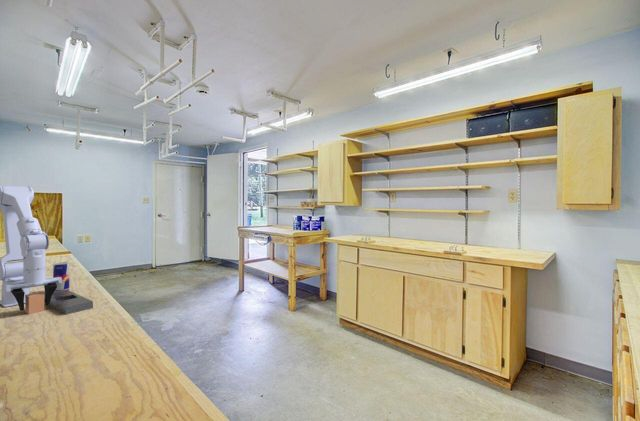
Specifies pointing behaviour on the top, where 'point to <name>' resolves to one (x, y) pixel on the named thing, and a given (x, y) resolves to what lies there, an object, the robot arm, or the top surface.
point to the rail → (69, 302)
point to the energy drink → (61, 275)
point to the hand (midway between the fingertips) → (34, 307)
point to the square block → (34, 303)
